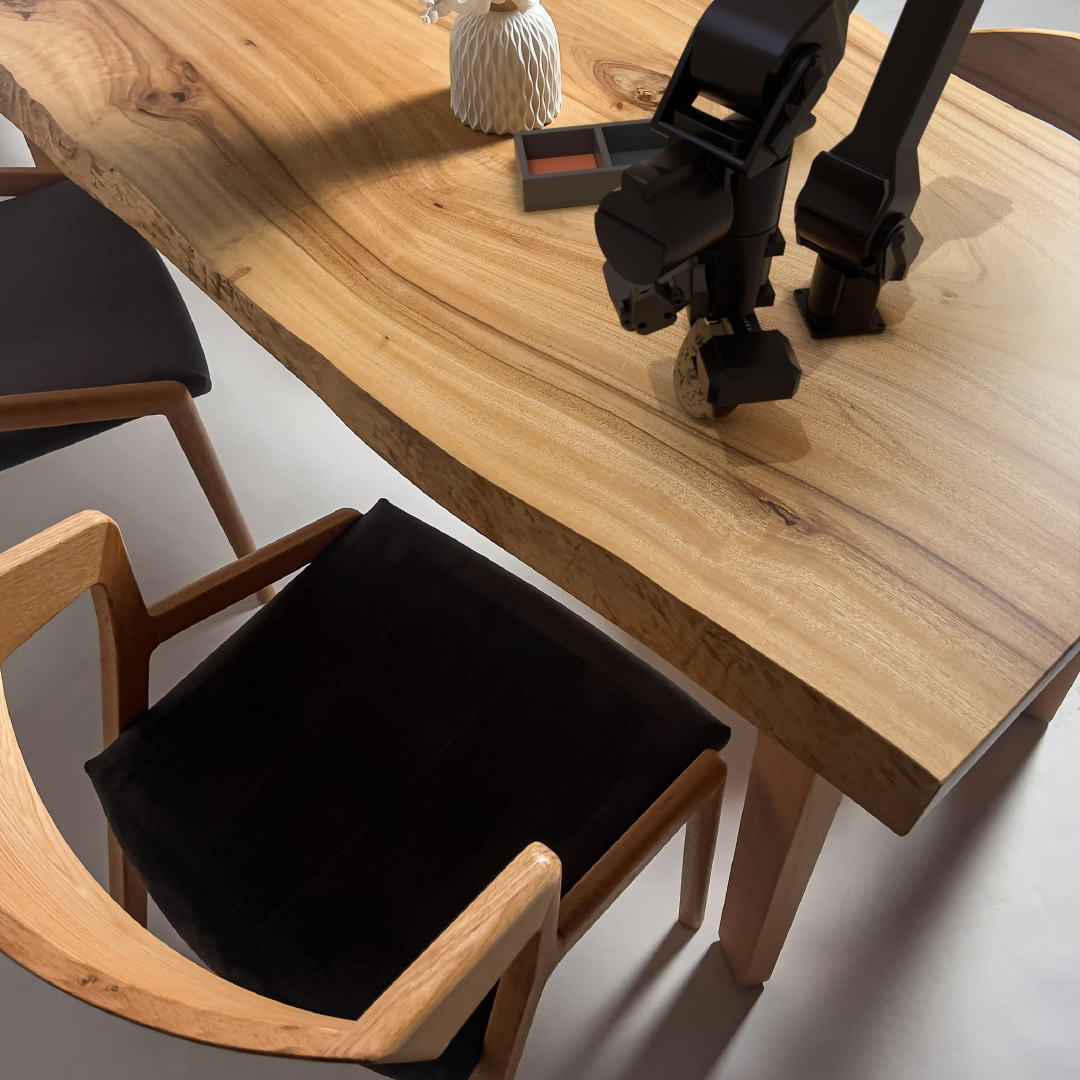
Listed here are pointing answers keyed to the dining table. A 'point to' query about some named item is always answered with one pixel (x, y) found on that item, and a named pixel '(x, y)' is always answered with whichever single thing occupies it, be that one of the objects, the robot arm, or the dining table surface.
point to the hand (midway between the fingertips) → (710, 387)
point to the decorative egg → (693, 371)
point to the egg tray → (580, 161)
